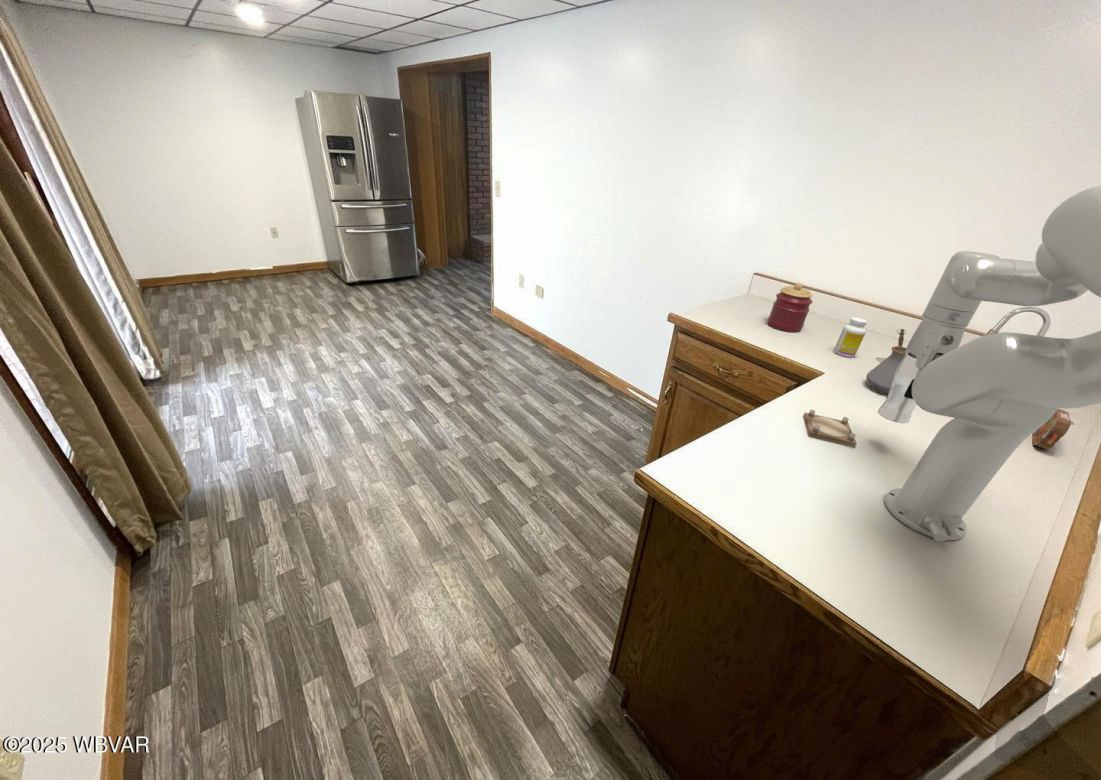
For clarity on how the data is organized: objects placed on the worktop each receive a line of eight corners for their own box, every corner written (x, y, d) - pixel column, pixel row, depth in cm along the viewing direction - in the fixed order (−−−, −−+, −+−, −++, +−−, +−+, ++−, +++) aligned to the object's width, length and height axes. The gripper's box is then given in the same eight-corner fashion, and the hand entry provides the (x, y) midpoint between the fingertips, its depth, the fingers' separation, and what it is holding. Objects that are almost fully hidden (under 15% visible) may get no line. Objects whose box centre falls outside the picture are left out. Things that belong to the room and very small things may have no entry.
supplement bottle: (858, 358, 149) (875, 324, 142) (839, 357, 149) (855, 322, 142) (847, 350, 155) (863, 316, 148) (829, 349, 155) (844, 315, 148)
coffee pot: (909, 403, 123) (936, 356, 115) (863, 391, 128) (886, 345, 120) (902, 375, 139) (925, 332, 132) (861, 365, 144) (881, 323, 136)
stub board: (854, 447, 102) (859, 438, 101) (808, 436, 105) (812, 427, 103) (845, 425, 110) (850, 417, 109) (803, 416, 113) (807, 407, 111)
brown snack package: (1032, 427, 116) (1052, 401, 111) (1048, 433, 114) (1069, 406, 110) (1031, 450, 106) (1054, 422, 102) (1049, 456, 104) (1073, 428, 100)
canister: (762, 319, 179) (776, 277, 170) (794, 322, 177) (810, 280, 169) (772, 330, 167) (787, 286, 158) (806, 334, 166) (824, 290, 157)
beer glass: (917, 426, 96) (952, 366, 89) (883, 421, 97) (915, 361, 90) (901, 411, 102) (932, 353, 95) (869, 406, 103) (898, 349, 96)
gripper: (990, 331, 80) (941, 413, 88) (950, 307, 94) (912, 379, 103) (942, 323, 82) (899, 404, 90) (910, 301, 96) (876, 372, 105)
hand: (906, 390), depth 96 cm, fingers closed on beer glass, 6 cm apart
